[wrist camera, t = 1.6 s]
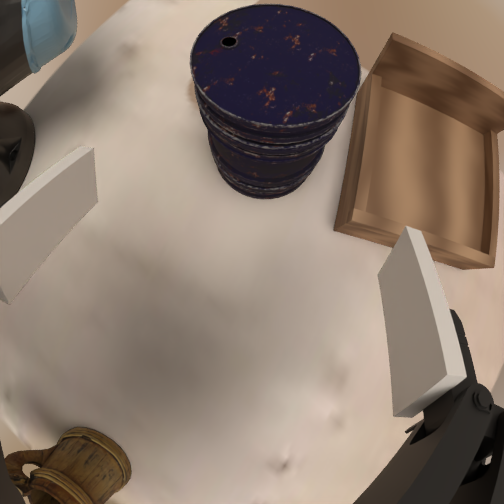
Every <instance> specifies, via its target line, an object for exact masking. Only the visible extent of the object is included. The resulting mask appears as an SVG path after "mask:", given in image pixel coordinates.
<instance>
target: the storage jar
mask: <svg viewBox="0 0 504 504" xmlns="http://www.w3.org/2000/svg"><path fill="white" fill-rule="evenodd" d="M190 68H191V74H192V77H193V81H194V84H195V94H196V99H197V102H198V106H199V109H200V114H201V117H202V120H203V122H204V124H205V126H206V127H207V129H208V140H209V145H210V148H211V152H212V155H213V158H214V161H215V163H216V165H217V168H218V170H219V172H220V174H221V176H222V178H223V179H224V180H225V181H226V182H227V184H229V185H230V186H231V187H232V188H233V189H235V190H236V191H238V192H239V193H241V194H244V195H246V196H249V197H252V198H257V199H274V198H279V197H282V196H285V195H287V194H289V193H291V192H293V191H294V190H296V189H297V188H298V187H299V186H300V185H301V184H302V183H303V182H304V181H305V180H306V178H307V177H308V176H309V175H310V173H311V172H312V170H313V169H314V167H315V166H316V164H317V163H318V162H319V160H320V158H321V156H322V154H323V151H324V147H325V145H326V144H327V143H328V142H329V141H330V140H331V139H332V137H333V136H334V134H335V133H336V131H337V129H338V127H339V125H340V124H341V122H342V120H343V119H344V117H345V115H346V113H347V110H348V108H349V104H350V102H351V101H352V99H353V98H354V96H355V94H356V92H357V90H358V87H359V85H360V79H361V64H360V61H359V57H358V55H357V52H356V50H355V48H354V46H353V45H352V43H351V42H350V40H349V39H348V38H347V37H346V35H345V34H344V33H343V32H342V31H341V30H340V29H338V28H337V27H336V26H335V25H334V24H332V23H331V22H329V21H328V20H326V19H325V18H323V17H321V16H319V15H317V14H315V13H313V12H310V11H307V10H304V9H301V8H298V7H293V6H289V5H281V4H257V5H250V6H245V7H241V8H238V9H235V10H231V11H229V12H227V13H225V14H223V15H221V16H219V17H218V18H216V19H215V20H213V21H212V22H211V23H209V24H208V25H207V26H206V27H205V28H204V29H203V30H202V31H201V33H200V34H199V35H198V37H197V38H196V40H195V42H194V44H193V47H192V50H191V54H190Z"/></svg>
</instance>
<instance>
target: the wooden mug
mask: <svg viewBox="0 0 504 504" xmlns="http://www.w3.org/2000/svg"><path fill="white" fill-rule="evenodd" d="M5 463H6V467H7V471H8V474H9V477H10V479H11V481H12V482H13V484H14V485H15V486H16V487H17V488H18V490H19V491H20V493H21V495H22V496H23V497H24V496H28V499H29V502H30V504H104V503H105V502H106V501H107V500H108V499H109V498H110V497H111V496H112V495H113V494H114V493H116V492H118V491H119V490H121V489H122V488H123V487H124V486H125V485H126V484H127V482H128V481H129V479H130V476H131V468H130V463H129V461H128V459H127V457H126V455H125V453H124V452H123V451H122V449H121V448H120V447H119V446H118V445H117V444H116V443H115V442H114V441H113V440H111V439H109V438H108V437H106V436H105V435H103V434H101V433H99V432H97V431H94V430H91V429H88V428H79V427H76V428H73V429H71V430H69V431H67V432H66V433H64V434H63V435H62V436H61V437H60V439H59V441H58V443H57V445H55V446H53V447H51V448H49V449H44V450H26V451H17V452H14V453H11V454H9V455H8V456H7V457H6V458H5ZM24 464H34V465H36V466H38V467H40V468H38V469H35V470H33V471H31V472H30V478H29V477H27V476H26V475H25V474H24V473H23V471H22V466H23V465H24Z"/></svg>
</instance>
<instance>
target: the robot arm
mask: <svg viewBox="0 0 504 504" xmlns="http://www.w3.org/2000/svg"><path fill="white" fill-rule="evenodd" d="M76 31H77V15H76V7H75V1H74V0H0V96H1V95H3V94H4V93H5V92H6V91H8V90H9V89H10V88H12V87H13V86H15V85H16V84H17V83H19V82H20V81H21V80H23V79H24V78H26V77H27V76H28V75H30V74H31V73H37V72H38V71H39V70H40V69H41V67H42V66H43V65H45V64H46V63H48V62H49V61H51V60H52V59H54V58H55V57H57V56H58V55H60V54H61V53H63V52H64V51H65V50H67V49H68V48H69V47H70V46H71V44H72V42H73V41H74V38H75V36H76ZM34 142H35V131H34V125H33V122H32V120H31V118H30V116H29V115H28V114H27V113H26V112H24V111H23V110H22V109H20V108H19V107H18V106H16V105H13V104H10V103H4V102H0V300H2V301H4V302H5V303H7V304H9V305H10V304H11V303H12V301H13V300H14V299H15V297H16V296H17V295H18V293H19V292H20V291H21V289H22V288H23V287H24V285H25V284H26V283H27V282H28V280H29V279H30V278H31V277H32V275H33V274H34V273H35V272H36V270H37V269H38V268H39V267H40V265H41V264H42V263H43V262H44V261H45V259H46V258H47V257H48V256H49V255H50V253H51V252H52V251H53V250H54V249H55V248H56V246H57V245H58V244H59V243H60V242H61V241H62V240H63V238H64V237H65V236H66V235H67V234H68V233H69V232H70V231H71V230H72V229H73V227H74V226H75V225H76V224H77V223H78V222H79V221H80V220H81V219H82V218H83V217H84V216H85V215H86V214H87V213H88V212H89V210H90V209H91V208H92V207H93V206H94V205H95V204H96V203H97V202H98V198H97V187H96V175H95V160H94V148H91V147H84V146H79V147H78V148H77V149H75V150H74V151H72V152H71V153H69V154H68V155H66V156H65V157H64V158H62V159H61V160H59V161H58V162H57V163H55V164H54V165H53V166H51V167H50V168H49V169H47V170H46V171H45V172H43V173H42V174H41V175H39V176H38V177H37V178H36V179H34V180H33V181H32V182H31V183H29V184H28V185H27V186H26V187H24V188H23V189H22V190H21V191H20V192H18V193H17V194H16V192H17V191H18V189H19V188H20V186H21V184H22V182H23V180H24V178H25V176H26V173H27V171H28V168H29V165H30V162H31V159H32V155H33V150H34ZM15 194H16V195H15ZM14 195H15V196H14ZM378 279H379V285H380V291H381V298H382V304H383V311H384V318H385V326H386V334H387V343H388V352H389V362H390V373H391V386H392V402H393V416H394V417H410V418H412V417H414V416H415V415H417V414H418V413H420V412H421V411H423V413H424V419H422V420H421V421H419V422H418V423H416V424H415V425H413V426H411V427H410V428H408V429H407V430H406V431H405V433H409V432H411V431H412V430H413V431H412V433H411V434H410V436H409V437H408V438H407V440H406V441H405V442H404V444H403V445H402V446H401V448H400V449H399V450H398V452H397V453H396V454H395V456H394V457H393V458H392V459H391V461H390V462H389V463H388V464H387V466H386V467H385V468H384V469H383V471H382V472H381V473H380V474H379V475H378V476H377V478H376V479H375V480H374V481H373V482H372V483H371V485H370V486H369V487H368V488H367V489H366V490H365V491H364V492H363V493H362V494H361V496H360V497H359V498H358V499H357V500H356V501H355V502H354V503H353V504H504V409H503V408H501V407H499V406H497V405H495V404H494V401H493V398H492V396H491V393H490V392H489V390H488V389H487V388H486V387H485V386H483V385H482V384H479V383H477V379H476V374H475V370H474V366H473V362H472V358H471V354H470V350H469V347H468V342H467V339H466V337H465V332H464V328H463V325H462V322H461V320H460V319H459V317H458V315H457V314H456V312H455V311H454V310H451V309H449V306H448V303H447V300H446V297H445V294H444V291H443V288H442V285H441V282H440V279H439V276H438V273H437V271H436V268H435V265H434V262H433V260H432V257H431V255H430V252H429V249H428V247H427V244H426V242H425V239H424V237H423V234H422V232H421V231H420V230H417V229H414V228H411V227H408V226H405V228H404V230H403V231H402V233H401V235H400V237H399V239H398V241H397V242H396V244H395V246H394V248H393V249H392V251H391V253H390V255H389V256H388V258H387V260H386V262H385V263H384V265H383V267H382V268H381V270H380V272H379V273H378ZM491 455H492V458H491V462H490V463H489V464H487V465H485V460H486V458H487V457H489V456H491ZM0 504H25V501H24V499H23V497H22V495H21V493H20V491H19V490H18V488H17V487H16V486H15V485H14V484H13V482H12V481H11V479H10V477H9V474H8V471H7V467H6V463H5V459H4V455H3V451H2V447H1V442H0Z"/></svg>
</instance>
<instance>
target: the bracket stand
mask: <svg viewBox="0 0 504 504" xmlns="http://www.w3.org/2000/svg"><path fill="white" fill-rule="evenodd" d="M502 130H504V92H503V91H502V90H500V89H499V88H497V87H496V86H494V85H493V84H491V83H490V82H488V81H487V80H485V79H483V78H482V77H480V76H479V75H477V74H475V73H474V72H472V71H470V70H469V69H467V68H465V67H463V66H461V65H460V64H458V63H456V62H454V61H453V60H451V59H449V58H447V57H445V56H443V55H441V54H439V53H437V52H435V51H433V50H431V49H429V48H427V47H425V46H423V45H420V44H419V43H416V42H414V41H412V40H409V39H407V38H405V37H402V36H400V35H398V34H395V33H392V34H391V36H390V38H389V39H388V41H387V43H386V45H385V47H384V48H383V50H382V52H381V53H380V55H379V57H378V58H377V60H376V62H375V64H374V65H373V67H372V69H371V71H370V72H369V74H368V76H367V77H366V79H365V81H364V83H363V84H362V86H361V88H360V90H359V91H358V93H357V97H356V105H355V112H354V119H353V126H352V133H351V139H350V145H349V151H348V157H347V163H346V169H345V175H344V180H343V185H342V191H341V196H340V201H339V206H338V211H337V216H336V221H335V226H334V231H337V232H340V233H344V234H348V235H351V236H355V237H358V238H362V239H365V240H368V241H372V242H375V243H379V244H382V245H386V246H389V247H392V248H394V246H395V244H396V242H397V241H398V239H399V237H400V235H401V233H402V231H403V230H404V228H405V226H408V227H411V228H414V229H417V230H420V231H421V232H422V234H423V237H424V239H425V242H426V244H427V247H428V249H429V252H430V255H431V257H432V260H434V261H438V262H441V263H444V264H447V265H450V266H453V267H456V268H459V269H462V270H465V269H482V268H494V265H495V256H496V247H497V236H498V221H499V155H498V140H497V134H498V133H499V132H501V131H502Z"/></svg>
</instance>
